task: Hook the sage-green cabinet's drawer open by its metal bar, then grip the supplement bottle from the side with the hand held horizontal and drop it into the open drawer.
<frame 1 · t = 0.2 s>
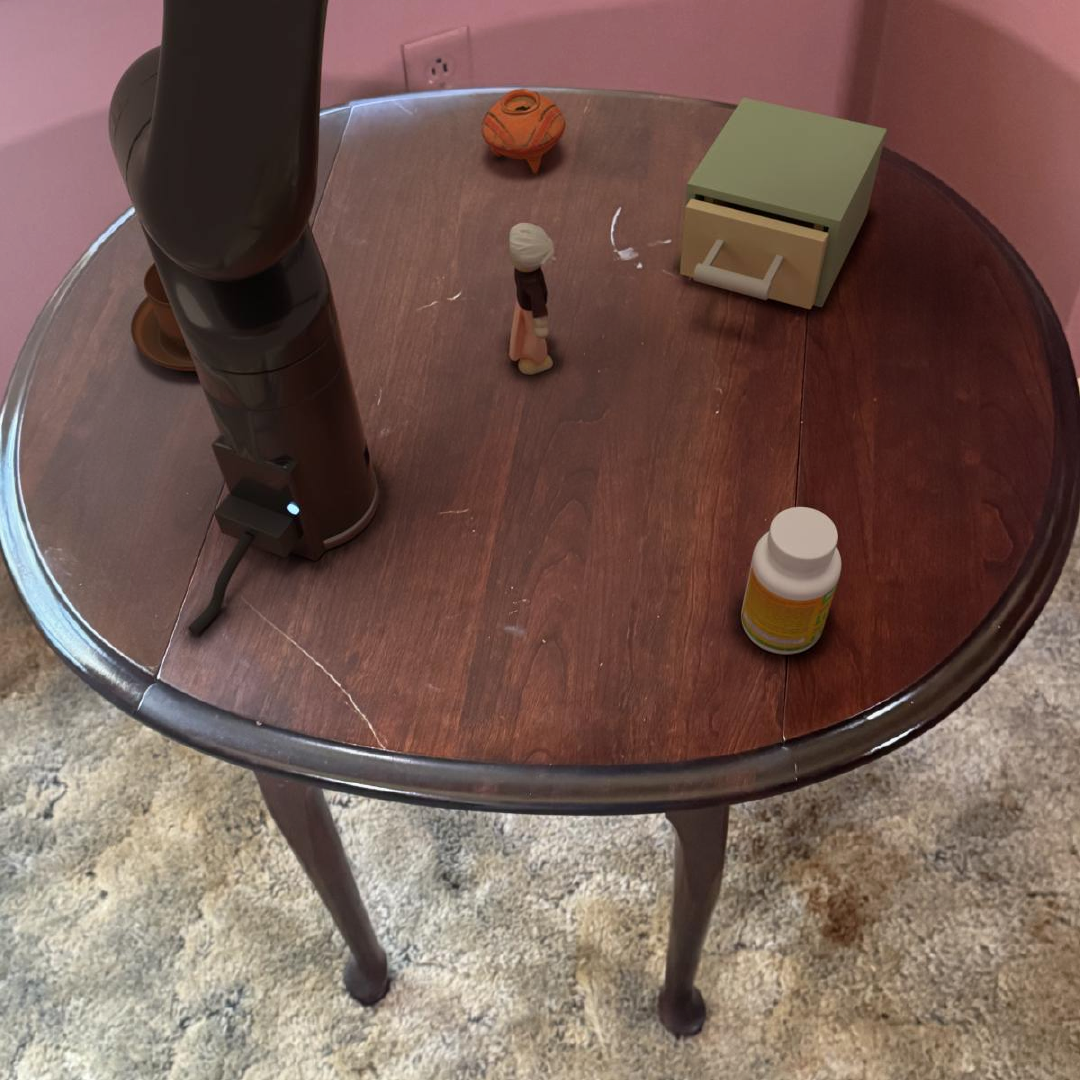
supplement bottle: (780, 623, 74), on the table
cabinet: (774, 241, 98), on the table
cup and saucer: (211, 335, 93), on the table
grandmother figurine: (533, 361, 90), on the table
pot: (524, 158, 107), on the table
drawer: (763, 231, 92), point 4 cm above the table, slide at 0.5 cm
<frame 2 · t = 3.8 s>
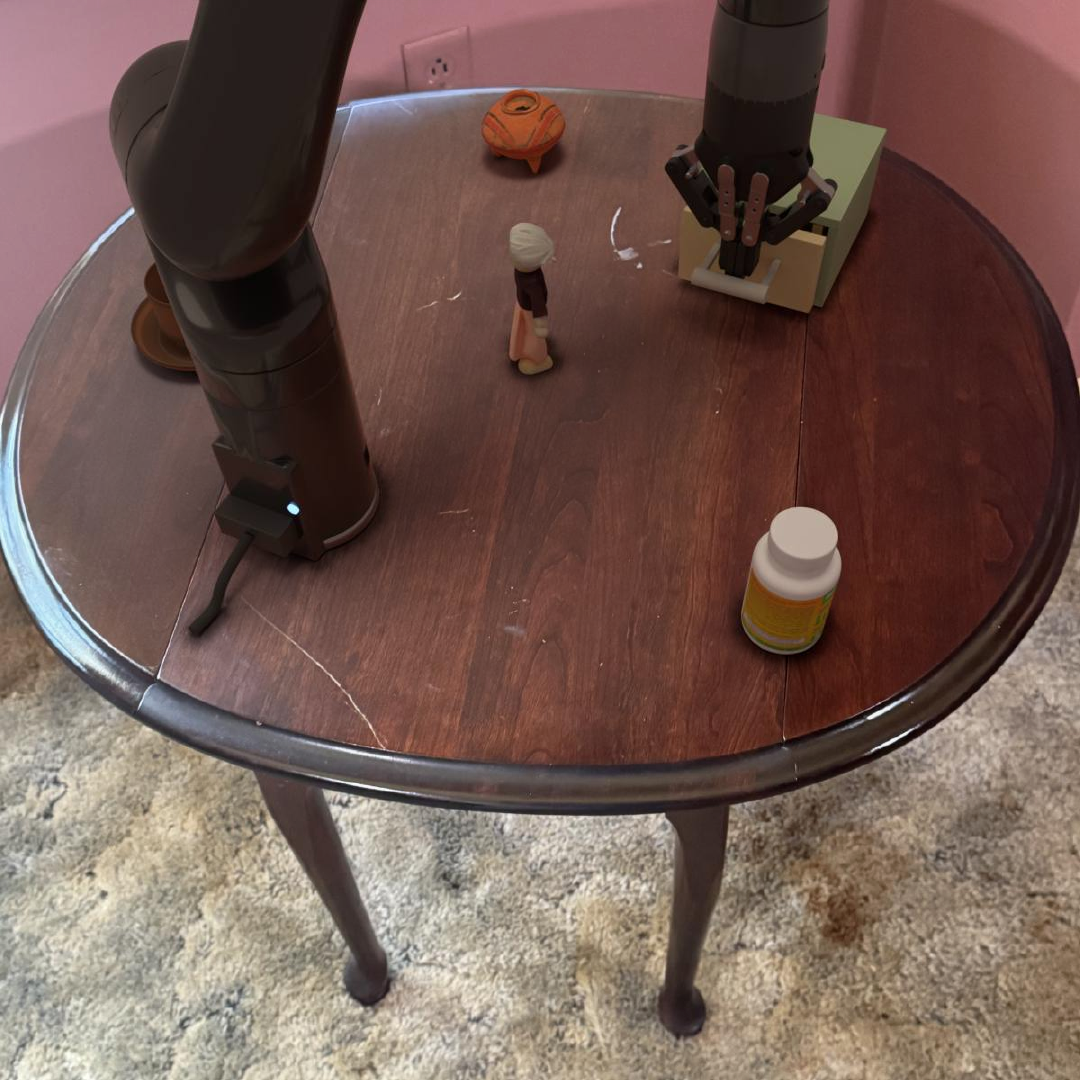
hand: (737, 273, 88), 5 cm above the table, tool pointing down, fingers closed
drawer: (761, 235, 91), point 4 cm above the table, slide at 1.0 cm
everything else where it was.
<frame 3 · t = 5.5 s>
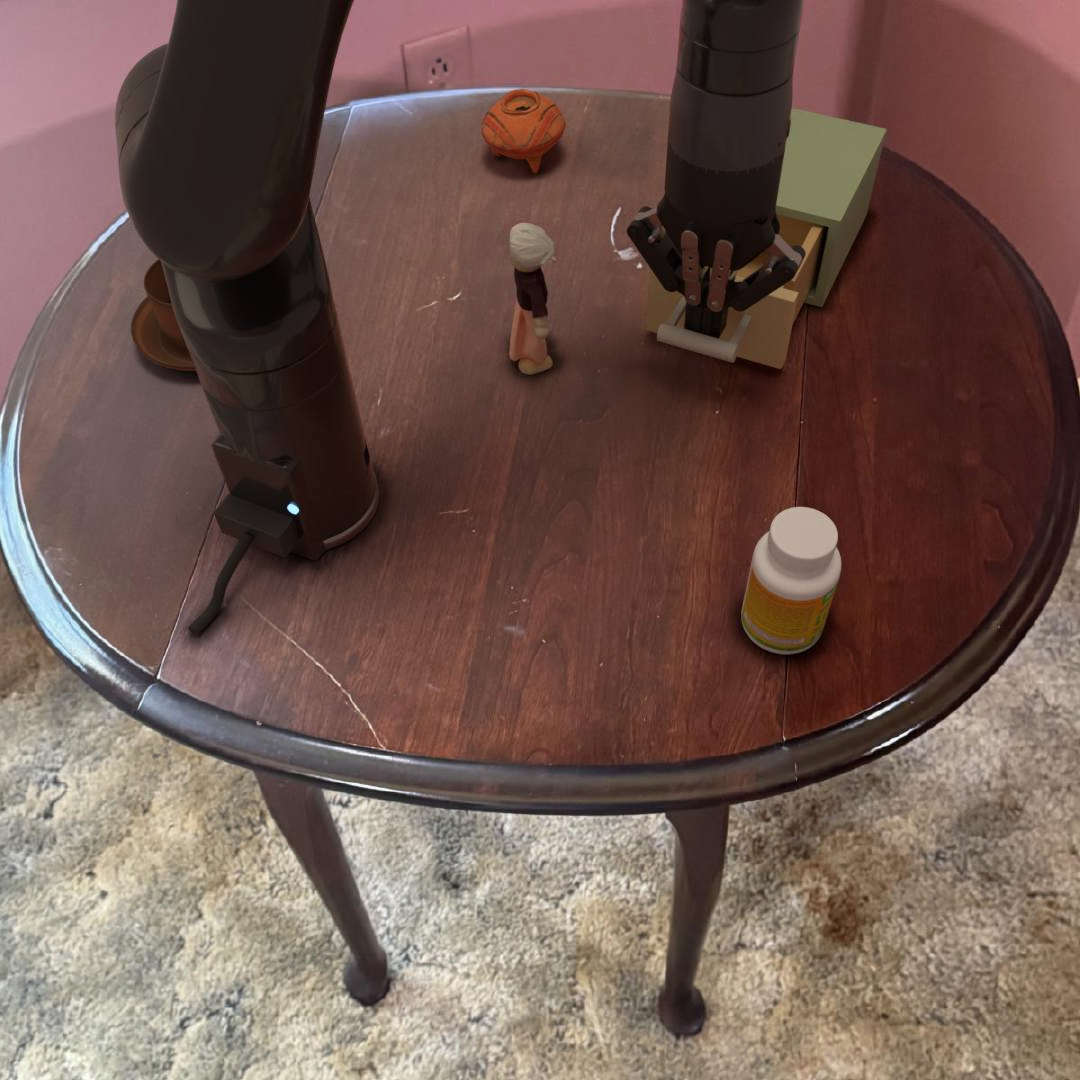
hand: (704, 337, 84), 4 cm above the table, tool pointing down, fingers closed
drawer: (732, 287, 88), point 4 cm above the table, slide at 8.1 cm, touching gripper
everything else where it was.
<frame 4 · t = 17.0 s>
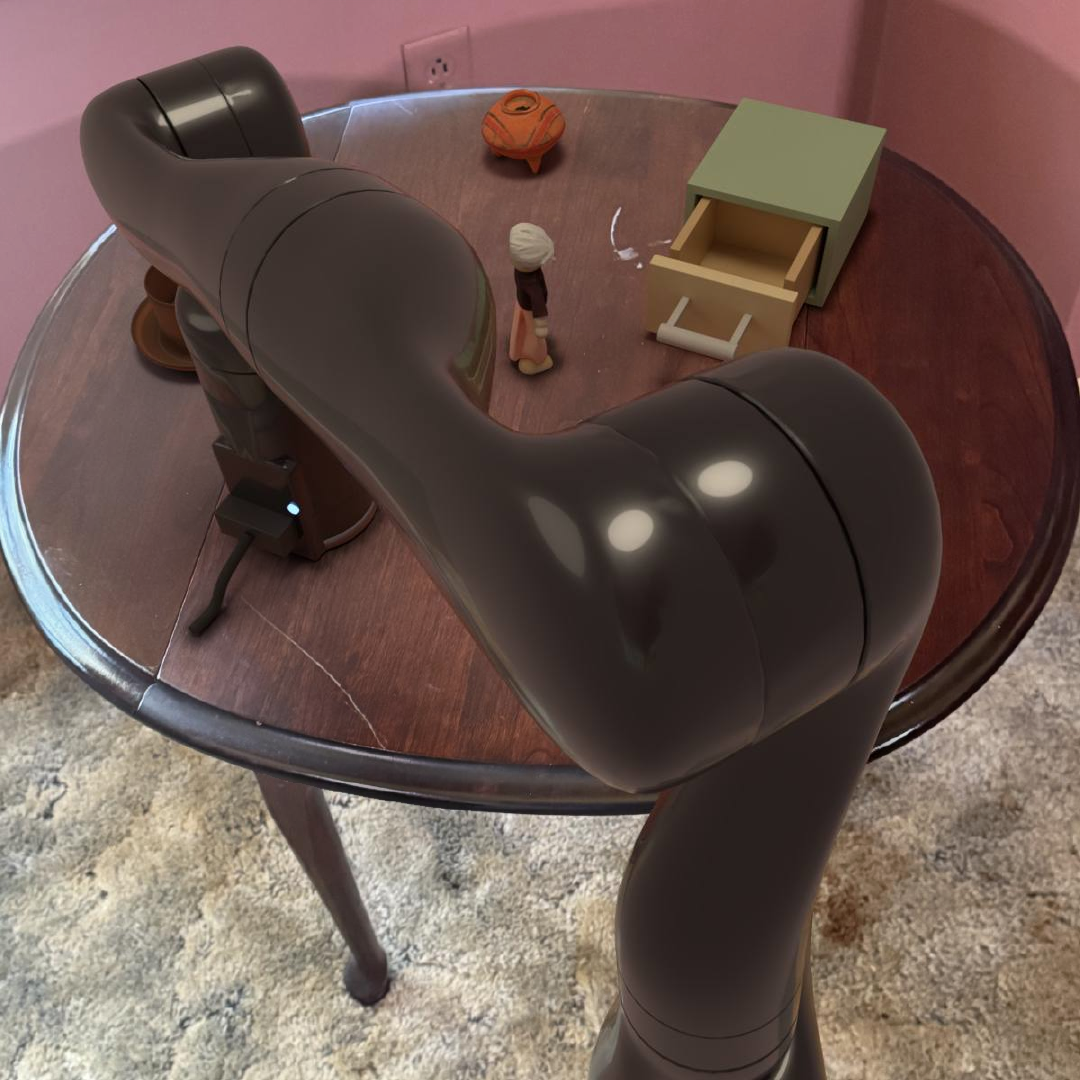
hand: (805, 517, 69), 8 cm above the table, tool horizontal, fingers closed on supplement bottle, 5 cm apart
supplement bottle: (780, 623, 74), on the table, touching gripper
drawer: (732, 287, 88), point 4 cm above the table, slide at 8.2 cm
everything else where it was.
when the fingers open (12 cm above the table, at t = 25.0 s): supplement bottle drops 2 cm, resting on drawer.
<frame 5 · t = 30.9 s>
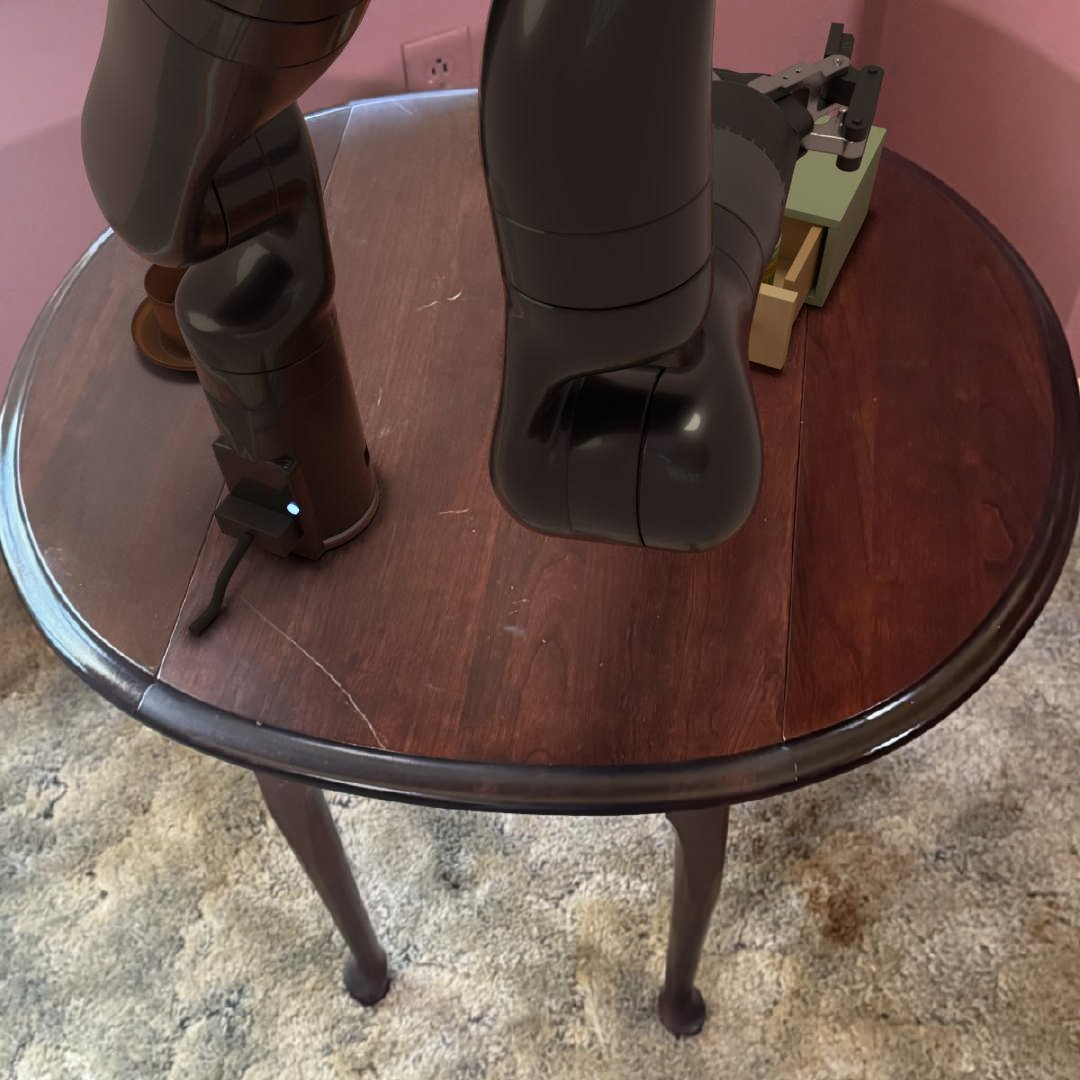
hand: (757, 30, 62), 30 cm above the table, tool horizontal, fingers open, 8 cm apart
supplement bottle: (736, 302, 90), point 2 cm above the table, touching drawer
drawer: (732, 287, 88), point 4 cm above the table, slide at 8.2 cm, touching supplement bottle
everything else where it was.
at the end: drawer slide at 8.2 cm; supplement bottle inside the target area in the drawer (0.4 cm from its centre), point 1.8 cm above the cabinet's base; the gripper is holding nothing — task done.
